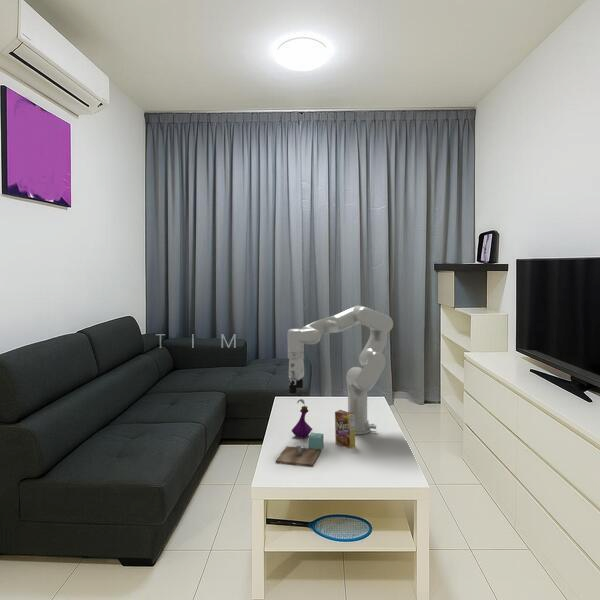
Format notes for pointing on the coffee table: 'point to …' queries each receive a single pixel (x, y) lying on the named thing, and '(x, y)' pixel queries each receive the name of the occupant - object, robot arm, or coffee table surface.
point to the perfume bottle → (302, 424)
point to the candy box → (345, 428)
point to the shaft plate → (298, 456)
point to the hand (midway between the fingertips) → (296, 390)
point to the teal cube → (316, 441)
